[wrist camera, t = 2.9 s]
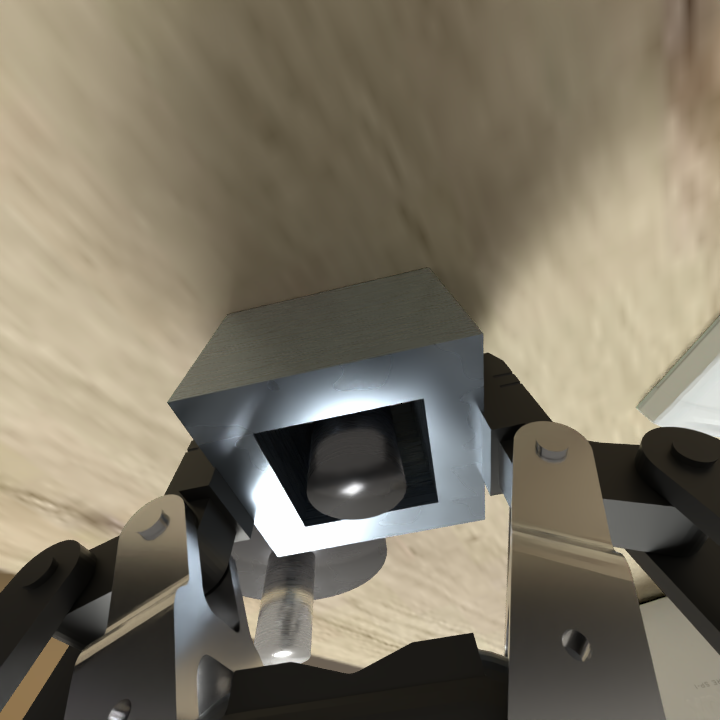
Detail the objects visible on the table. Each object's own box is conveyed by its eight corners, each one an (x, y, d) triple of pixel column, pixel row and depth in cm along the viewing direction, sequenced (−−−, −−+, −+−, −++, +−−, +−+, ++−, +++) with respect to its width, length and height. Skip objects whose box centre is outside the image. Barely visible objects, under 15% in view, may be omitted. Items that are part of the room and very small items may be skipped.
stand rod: (375, 339, 10) (398, 448, 6) (387, 391, 11) (412, 509, 8) (308, 354, 10) (292, 469, 7) (327, 404, 12) (322, 527, 8)
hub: (363, 462, 13) (374, 585, 10) (397, 565, 18) (412, 673, 14) (160, 502, 14) (95, 632, 10) (245, 592, 19) (222, 702, 15)
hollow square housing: (428, 267, 9) (483, 333, 6) (444, 419, 12) (484, 519, 9) (227, 314, 9) (167, 402, 6) (293, 450, 13) (277, 556, 9)
